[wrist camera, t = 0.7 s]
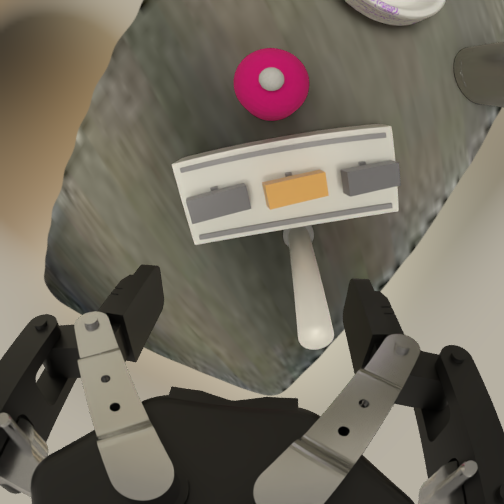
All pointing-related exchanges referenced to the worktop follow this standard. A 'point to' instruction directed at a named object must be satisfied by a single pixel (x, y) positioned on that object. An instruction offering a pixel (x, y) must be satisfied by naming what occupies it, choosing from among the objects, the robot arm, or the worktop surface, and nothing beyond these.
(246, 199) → the paddle
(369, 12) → the paper bowls
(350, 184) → the paddle
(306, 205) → the breaker panel
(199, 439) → the robot arm
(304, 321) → the post
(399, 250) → the worktop surface
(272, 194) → the block
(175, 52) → the worktop surface
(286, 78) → the pepper mill
